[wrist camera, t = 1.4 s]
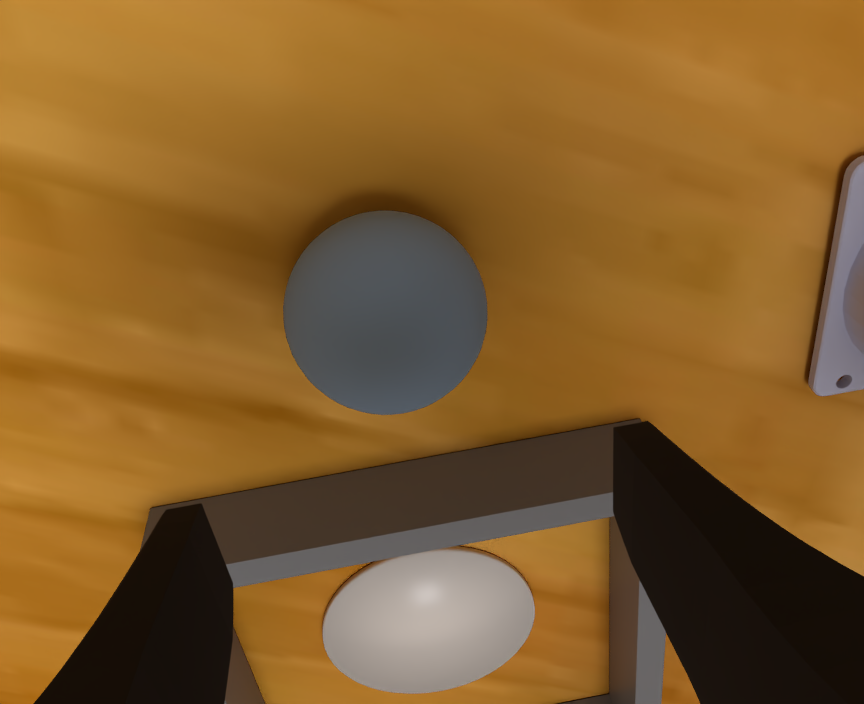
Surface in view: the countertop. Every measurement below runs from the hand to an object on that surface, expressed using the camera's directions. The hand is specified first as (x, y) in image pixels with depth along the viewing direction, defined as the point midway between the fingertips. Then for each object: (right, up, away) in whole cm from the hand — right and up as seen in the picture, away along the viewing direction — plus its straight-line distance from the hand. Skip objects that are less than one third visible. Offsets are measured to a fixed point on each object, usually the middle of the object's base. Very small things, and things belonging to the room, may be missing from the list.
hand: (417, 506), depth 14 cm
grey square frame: (0, -7, +16) cm, 18 cm away
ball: (-1, +4, +6) cm, 7 cm away
